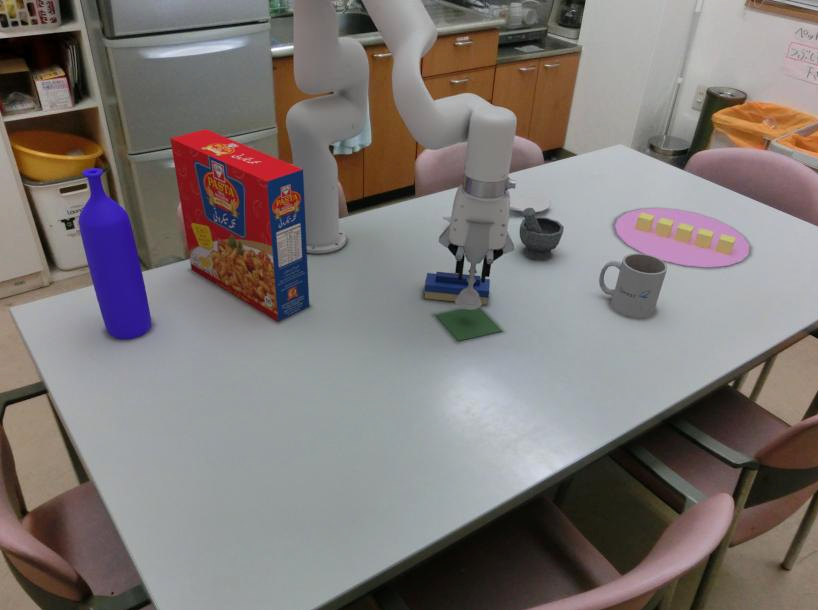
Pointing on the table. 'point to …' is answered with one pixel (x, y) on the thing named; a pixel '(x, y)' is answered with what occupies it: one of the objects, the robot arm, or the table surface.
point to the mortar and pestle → (539, 234)
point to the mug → (636, 284)
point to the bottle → (113, 262)
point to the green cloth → (468, 323)
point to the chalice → (474, 262)
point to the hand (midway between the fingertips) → (471, 276)
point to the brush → (453, 286)
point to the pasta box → (244, 221)
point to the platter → (682, 237)
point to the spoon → (525, 204)
